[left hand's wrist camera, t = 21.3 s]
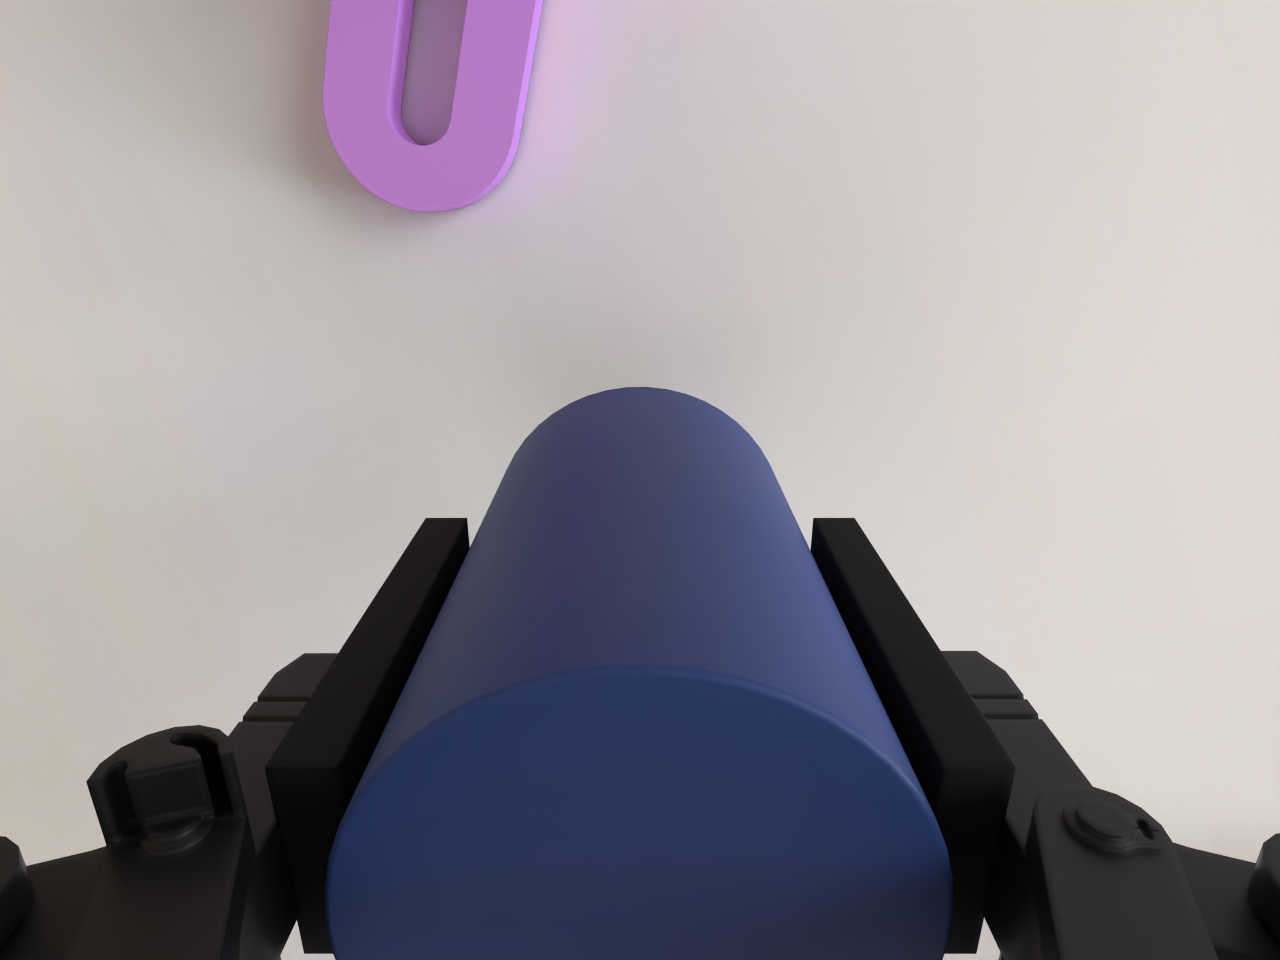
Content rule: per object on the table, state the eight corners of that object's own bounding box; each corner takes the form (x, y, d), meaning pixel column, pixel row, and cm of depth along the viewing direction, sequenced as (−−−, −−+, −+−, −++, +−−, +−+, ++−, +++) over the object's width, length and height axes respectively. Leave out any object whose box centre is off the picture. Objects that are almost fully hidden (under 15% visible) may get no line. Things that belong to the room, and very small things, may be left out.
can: (441, 540, 17) (203, 961, 8) (620, 323, 16) (590, 532, 6) (655, 691, 19) (671, 1203, 9) (840, 508, 17) (1090, 907, 8)
